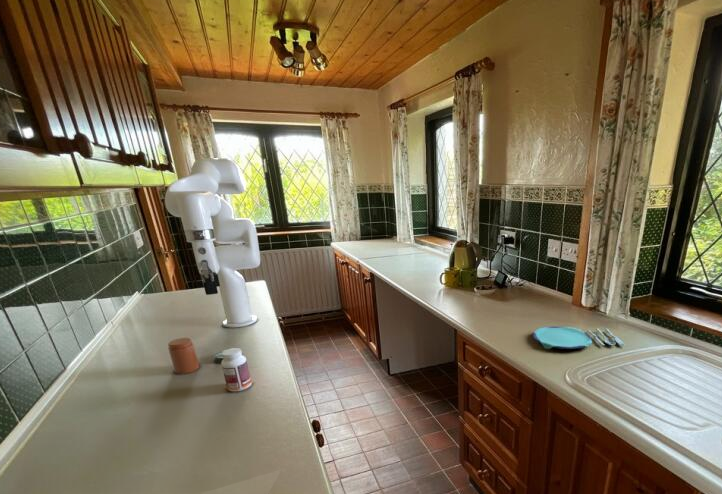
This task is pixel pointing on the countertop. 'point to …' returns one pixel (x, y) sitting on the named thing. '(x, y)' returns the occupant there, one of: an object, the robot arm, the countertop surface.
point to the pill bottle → (235, 370)
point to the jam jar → (183, 355)
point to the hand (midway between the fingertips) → (213, 290)
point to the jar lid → (218, 357)
